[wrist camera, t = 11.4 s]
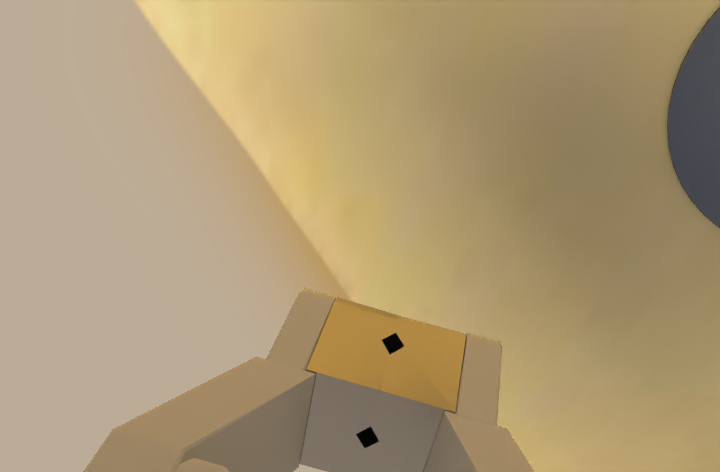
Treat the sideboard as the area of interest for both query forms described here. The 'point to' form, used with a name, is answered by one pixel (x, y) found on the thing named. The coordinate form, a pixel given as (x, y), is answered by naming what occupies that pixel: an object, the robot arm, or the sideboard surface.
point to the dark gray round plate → (698, 121)
